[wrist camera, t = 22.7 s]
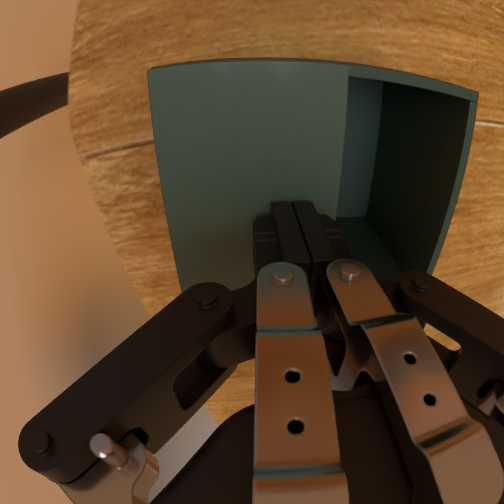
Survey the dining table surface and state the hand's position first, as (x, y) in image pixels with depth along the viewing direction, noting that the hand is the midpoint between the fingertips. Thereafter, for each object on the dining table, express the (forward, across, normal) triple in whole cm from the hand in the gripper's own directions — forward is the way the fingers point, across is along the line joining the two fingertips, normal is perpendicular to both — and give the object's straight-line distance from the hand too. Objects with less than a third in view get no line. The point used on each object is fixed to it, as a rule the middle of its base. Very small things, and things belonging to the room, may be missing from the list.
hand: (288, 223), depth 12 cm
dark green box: (+10, -2, 0) cm, 10 cm away
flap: (0, +1, 0) cm, 1 cm away
